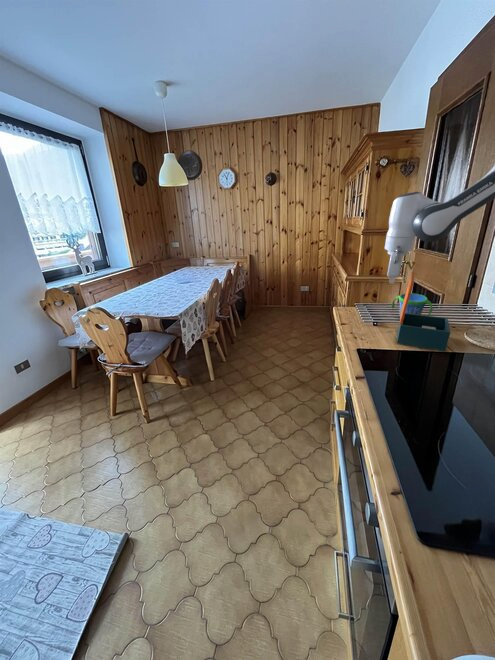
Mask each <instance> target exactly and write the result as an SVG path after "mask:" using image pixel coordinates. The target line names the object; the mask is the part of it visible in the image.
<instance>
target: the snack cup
mask: <svg viewBox="0 0 495 660" xmlns="http://www.w3.org/2000/svg"><path fill="white" fill-rule="evenodd" d="M405 294H406V293H402V294H400V295H397V296H396V297H394V298H393V300H392V302H391V309H394V308H395V301H396V300H397V299H398V301H399V317H400V316H401V309H402V305H403V302H404V298H405ZM426 304H427V305H429V311H428V314H427V316H431V314H432V312H433V304H432V302H431V301H430V300H429V299H428V297H427V296H426V295H423V294H421V293H420V294H419V293H413V292H411V295H410V298H409V302H408V305H407V309H406V312H405V313H409V314H417V315H422V313H423V310H424V308H425V305H426Z"/></svg>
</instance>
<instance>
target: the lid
mask: <svg viewBox="0 0 495 660" xmlns="http://www.w3.org/2000/svg"><path fill="white" fill-rule="evenodd" d="M409 276H410V277H409V280H408V283H407V287H406V291H405V293H404V294H405V298H404V302H403V305H402V309H401V316H400V315H399V324H402V323H403V319H404V316H405V312H406V309H407V305H408V302H409V298H410V295H411V293H412V291H413V287H414V283H415V272H414V271H411V273H410V275H409Z"/></svg>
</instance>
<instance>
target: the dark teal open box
mask: <svg viewBox="0 0 495 660" xmlns="http://www.w3.org/2000/svg"><path fill="white" fill-rule="evenodd" d="M422 326H429V327H436V329H429V328H422ZM451 333H452V332H451V326H450V322H449V318H448V317H442V316H432V315H429V316H428V315H424V314H421V315H417V314H409V313H405V316H404V319H403V323H402V324H400V323H399V324H398V329H397V339H396V340H397V341H396V344H397V345H404V346H410V347H416V348H423V349H429V350H433V351H434V350H435V351H441V352H446V350H447V346H448V343H449V340H450V336H451Z"/></svg>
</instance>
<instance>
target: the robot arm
mask: <svg viewBox="0 0 495 660" xmlns="http://www.w3.org/2000/svg"><path fill="white" fill-rule="evenodd" d="M493 200H495V164H494V165H493V167H492V168H491V169H490V170H489V171H488V172H487V174H485V175H484V176H483V177H481V178H480V179H479V180H478V181H476V182H475V183H473V184H472V185H470V186H469V187H468V188H466V189H464V190H463V191H462V192H460V193H458V194H456V196H454V197H452V198H451V199H449V200H447V201H445V202H440V201H437V200H434V199H432V198H429V197H428V196H426V195H425V194H423V192H421V191H411V192H408V193H403V194H400V195H398V196H397V197H396V198H395V199H394V200H393V201H392V205H391V208H390V214H389V217H388V230H387V232H386V237H385V243H384V250H385V251H387V255H390V256H389V262H388V268H387V273H386V276H387V277H388V278H389V282H388V283H389V284H393V285H394V284H395V283H396V278H399V276H400V273H401V269H402V263H403V258H404V257H405V256H407V255H408V254H409V253H408V252H410V251H413V248H414V244H415V239H416V238H417V239H418V240H420V241H422V242H426V243H434V242H437V241H440V240H442V239H444V238H445V237H446V236H448V235H449V234H450V233H451V232H452V230H453V229H454V228H455V227H456V225H457V224H458V223H459V222H460V221H461V220H463V219H465V218H466V217H467V216H469V215H470V214H472V213H474V212H476V211H477V210H479V209H481V208H482V207H483V206H485V205H487V204H489V203H490V202H492V201H493Z"/></svg>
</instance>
